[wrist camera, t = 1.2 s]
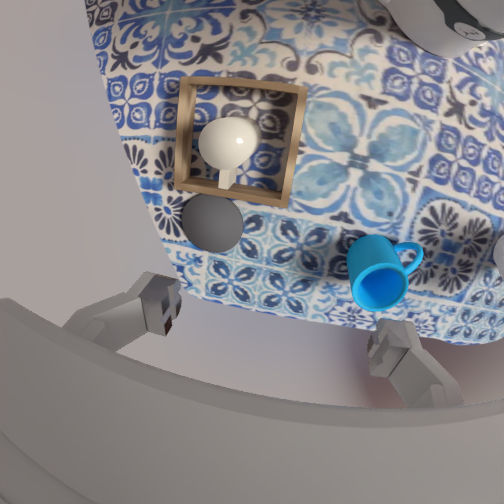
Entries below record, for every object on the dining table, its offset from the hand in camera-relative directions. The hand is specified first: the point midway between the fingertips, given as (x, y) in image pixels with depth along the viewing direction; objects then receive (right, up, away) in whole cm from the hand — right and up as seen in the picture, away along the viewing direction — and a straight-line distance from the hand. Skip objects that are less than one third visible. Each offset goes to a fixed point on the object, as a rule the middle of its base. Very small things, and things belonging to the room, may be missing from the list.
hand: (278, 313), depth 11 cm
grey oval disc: (-7, +7, +33) cm, 34 cm away
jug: (-3, +17, +26) cm, 31 cm away
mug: (+19, +2, +30) cm, 35 cm away
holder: (-3, +18, +25) cm, 31 cm away
